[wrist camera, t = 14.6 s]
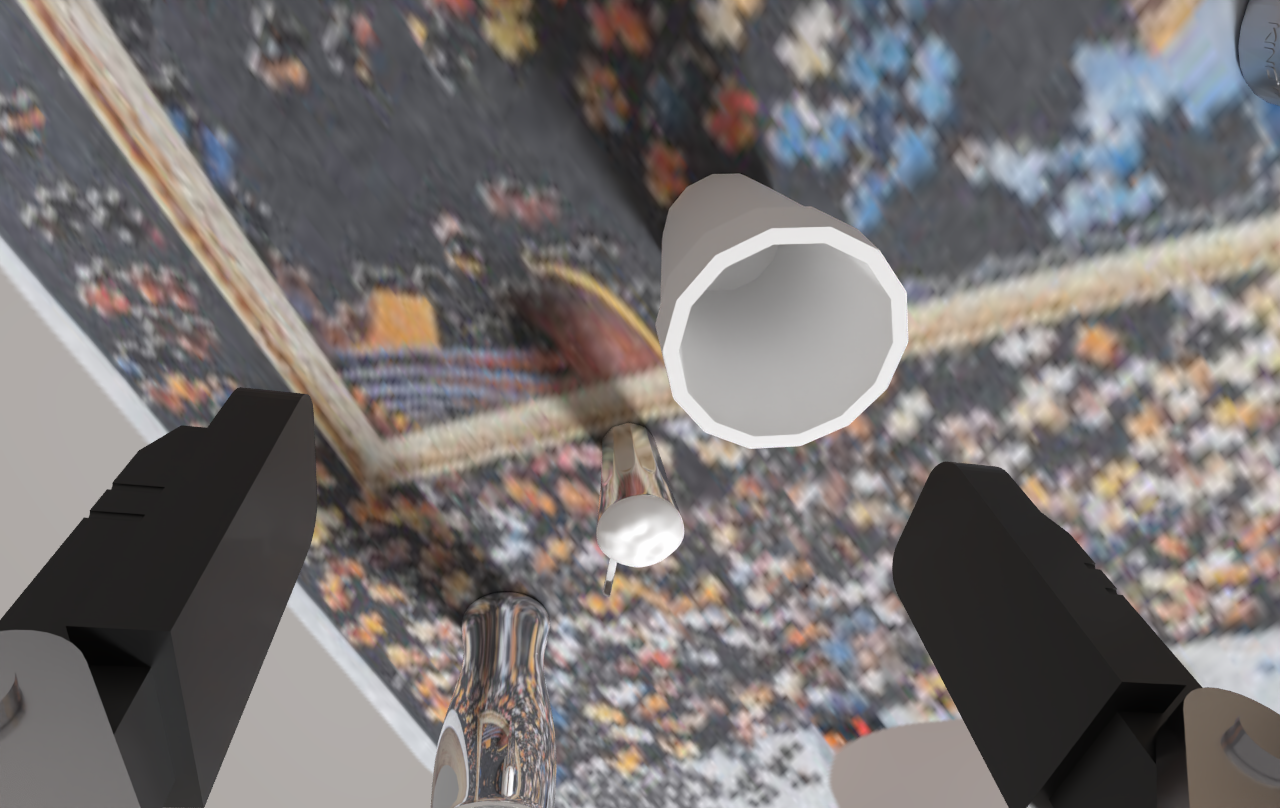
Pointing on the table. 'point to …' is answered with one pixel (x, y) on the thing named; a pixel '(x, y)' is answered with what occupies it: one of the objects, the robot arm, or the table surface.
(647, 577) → the table surface
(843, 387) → the foam cup
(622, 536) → the milkshake
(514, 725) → the beer glass
